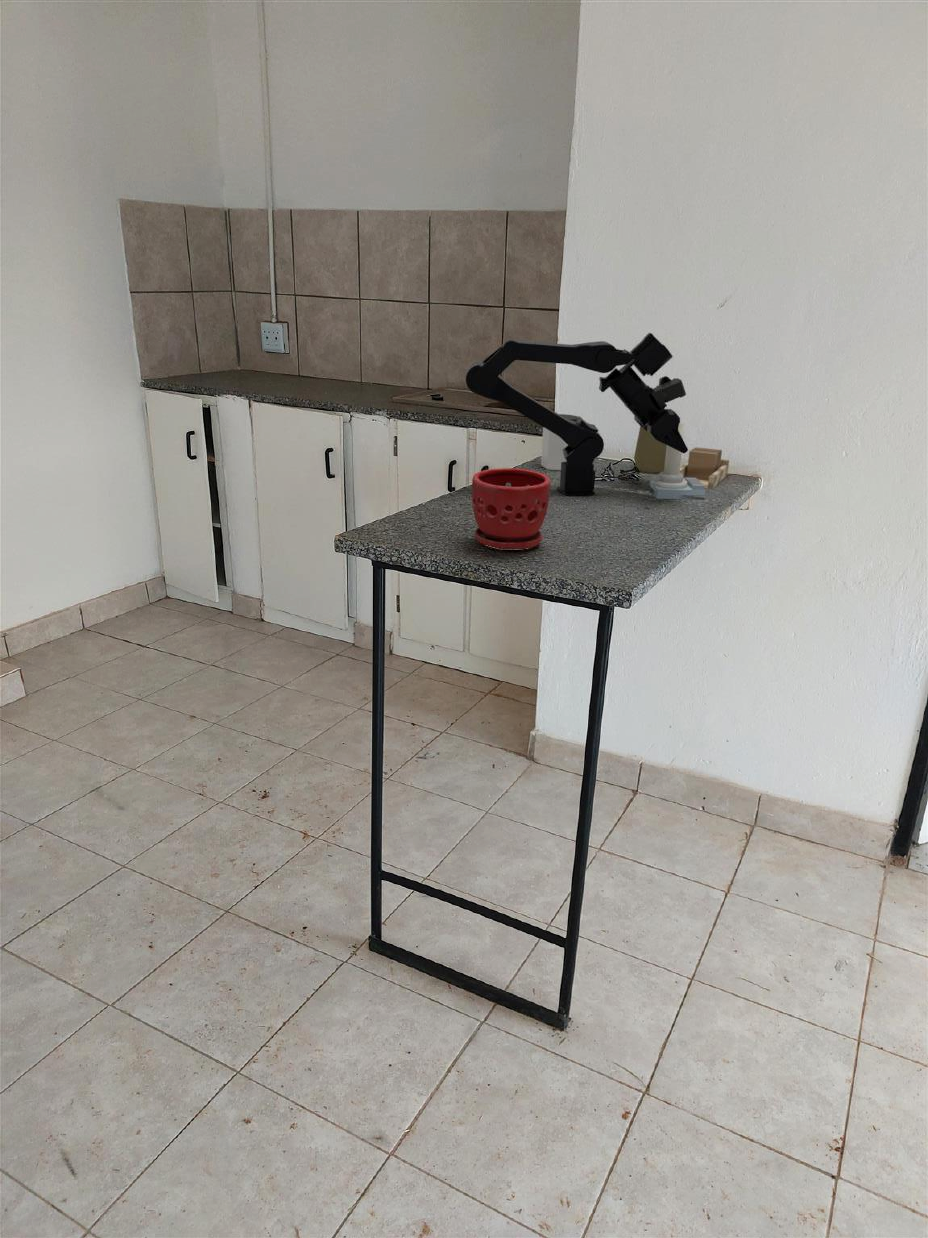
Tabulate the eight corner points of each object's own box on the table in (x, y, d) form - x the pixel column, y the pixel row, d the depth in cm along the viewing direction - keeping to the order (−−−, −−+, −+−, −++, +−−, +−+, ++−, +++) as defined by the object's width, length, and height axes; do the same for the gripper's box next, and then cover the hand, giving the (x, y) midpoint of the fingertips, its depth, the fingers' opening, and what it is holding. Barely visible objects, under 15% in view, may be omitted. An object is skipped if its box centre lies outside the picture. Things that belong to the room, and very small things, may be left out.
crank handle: (679, 478, 193) (685, 421, 188) (685, 483, 188) (691, 425, 184) (651, 477, 193) (657, 421, 188) (656, 482, 188) (662, 425, 184)
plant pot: (455, 541, 155) (456, 472, 151) (513, 530, 163) (516, 464, 158) (503, 560, 146) (506, 488, 141) (562, 547, 153) (567, 478, 149)
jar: (560, 472, 209) (563, 420, 205) (534, 466, 215) (537, 416, 210) (584, 467, 215) (588, 417, 211) (558, 462, 221) (561, 412, 216)
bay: (711, 493, 193) (714, 472, 192) (670, 488, 197) (672, 467, 195) (726, 479, 207) (729, 460, 205) (687, 474, 211) (690, 455, 209)
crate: (713, 480, 200) (716, 454, 198) (686, 477, 203) (689, 451, 201) (718, 476, 205) (722, 449, 203) (692, 472, 208) (695, 447, 206)
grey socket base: (656, 498, 188) (658, 484, 187) (649, 489, 195) (650, 476, 194) (704, 499, 188) (706, 485, 187) (694, 490, 195) (696, 477, 194)
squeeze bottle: (627, 470, 213) (634, 393, 207) (659, 470, 215) (667, 393, 208) (639, 478, 206) (647, 398, 199) (673, 477, 207) (681, 398, 201)
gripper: (674, 369, 173) (724, 428, 177) (654, 359, 190) (700, 413, 195) (630, 409, 176) (679, 467, 180) (614, 396, 193) (660, 449, 197)
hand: (681, 447), depth 188 cm, fingers open, 9 cm apart
